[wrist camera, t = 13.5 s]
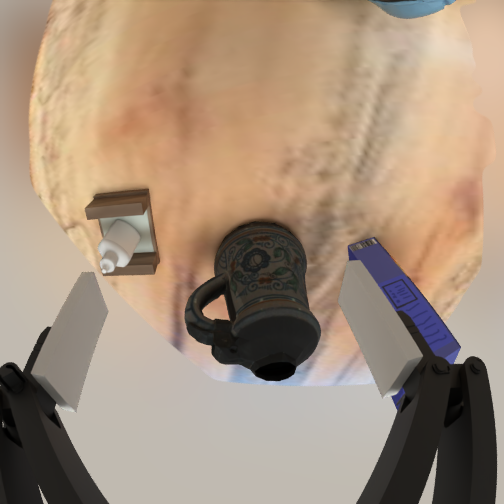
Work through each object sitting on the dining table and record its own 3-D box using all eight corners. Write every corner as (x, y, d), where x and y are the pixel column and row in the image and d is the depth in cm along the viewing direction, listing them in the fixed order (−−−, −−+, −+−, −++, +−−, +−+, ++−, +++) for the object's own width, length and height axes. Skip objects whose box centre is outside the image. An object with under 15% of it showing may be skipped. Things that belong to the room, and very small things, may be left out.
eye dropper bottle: (129, 213, 44) (105, 250, 33) (143, 240, 47) (125, 282, 36) (109, 222, 44) (82, 259, 34) (123, 248, 47) (103, 290, 37)
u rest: (95, 194, 42) (84, 205, 38) (148, 188, 43) (140, 199, 39) (111, 262, 50) (103, 278, 45) (159, 260, 50) (155, 276, 46)
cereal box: (375, 310, 64) (429, 410, 39) (354, 318, 64) (402, 423, 39) (373, 237, 53) (461, 348, 27) (347, 245, 53) (427, 367, 28)
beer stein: (308, 280, 56) (349, 383, 35) (216, 305, 57) (219, 415, 36) (292, 207, 48) (348, 305, 26) (185, 239, 49) (165, 353, 28)
